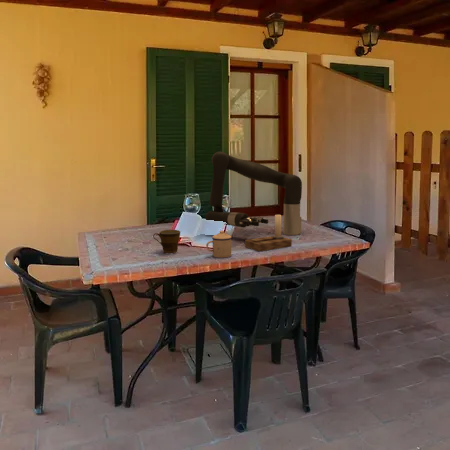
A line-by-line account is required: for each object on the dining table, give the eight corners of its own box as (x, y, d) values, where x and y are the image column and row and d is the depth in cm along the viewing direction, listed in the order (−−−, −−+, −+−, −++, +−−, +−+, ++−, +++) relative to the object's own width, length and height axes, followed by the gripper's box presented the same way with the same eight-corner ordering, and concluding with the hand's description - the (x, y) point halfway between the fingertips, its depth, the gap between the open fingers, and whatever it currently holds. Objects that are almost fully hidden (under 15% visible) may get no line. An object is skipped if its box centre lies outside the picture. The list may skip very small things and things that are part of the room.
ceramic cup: (181, 249, 228) (180, 229, 226) (180, 254, 218) (179, 233, 216) (155, 249, 227) (154, 229, 226) (152, 255, 218) (151, 234, 216)
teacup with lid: (228, 252, 221) (228, 228, 219) (234, 257, 212) (234, 232, 210) (204, 254, 217) (203, 230, 215) (209, 259, 209) (208, 234, 207)
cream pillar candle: (278, 241, 237) (278, 214, 235) (283, 242, 234) (283, 215, 232) (272, 242, 235) (272, 214, 233) (277, 243, 232) (277, 216, 229)
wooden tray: (276, 241, 242) (276, 235, 241) (291, 246, 232) (291, 239, 231) (245, 246, 232) (245, 239, 231) (259, 251, 222) (259, 244, 221)
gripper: (229, 214, 242) (255, 217, 232) (245, 211, 253) (270, 213, 243) (230, 228, 244) (255, 232, 234) (245, 224, 255) (270, 227, 245)
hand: (263, 222), depth 239 cm, fingers open, 8 cm apart
